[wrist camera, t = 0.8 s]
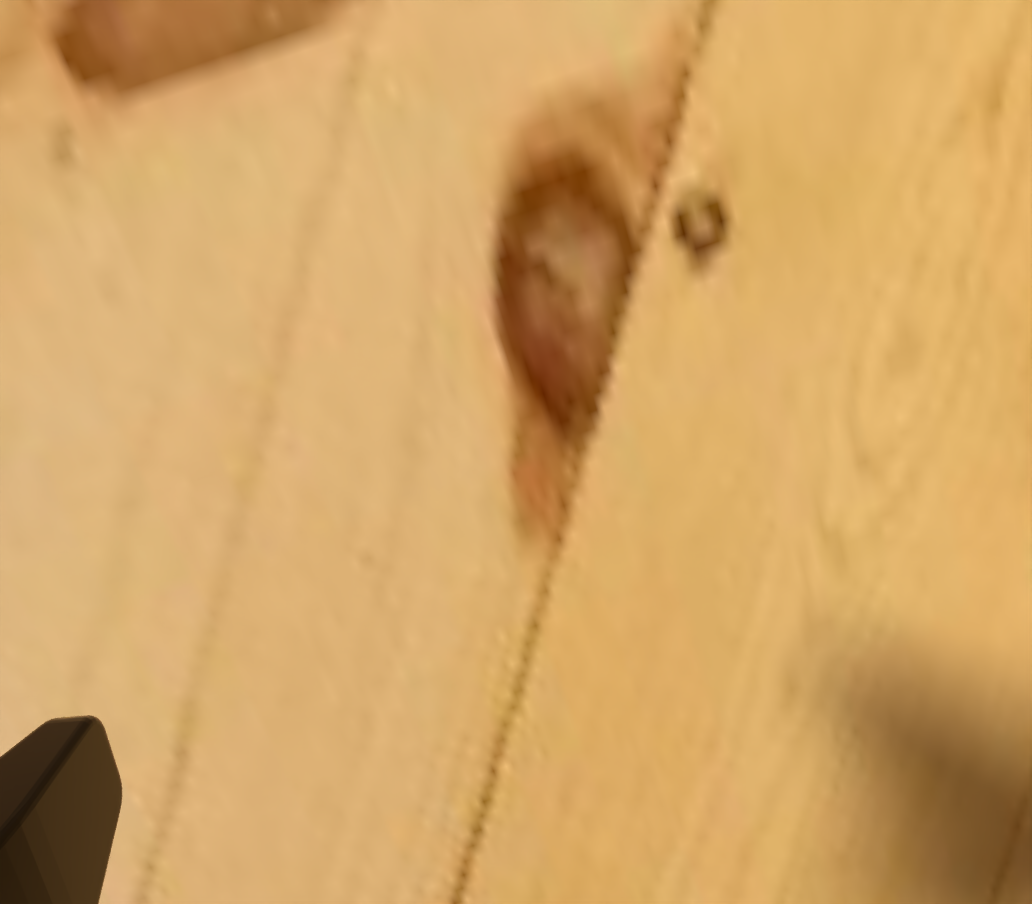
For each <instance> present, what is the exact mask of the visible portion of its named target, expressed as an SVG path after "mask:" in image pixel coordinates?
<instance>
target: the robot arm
mask: <svg viewBox="0 0 1032 904" xmlns="http://www.w3.org/2000/svg"><path fill="white" fill-rule="evenodd" d="M121 803H122V783H121V779H120V775H119V772H118V769H117V766H116V762H115V759H114V756H113V753H112V750H111V747H110V744H109V740H108V737H107V734H106V731H105V728H104V726H103V724H102V722H101V721H100V720H99V719H98V718H97V717H94V716H89V715H88V716H75V717H62V718H55V719H51V720H49V721H47V722H45V723H44V724H42V725H41V726H39V727H38V728H37V729H36V730H34V731H33V732H32V733H30V734H29V735H28V736H27V737H25V738H24V739H23V740H21V741H20V742H19V743H18V744H16V745H15V746H14V747H13V748H11V749H10V750H9V751H7V752H6V753H5V754H4V755H2V756H1V757H0V904H98V903H99V899H100V895H101V890H102V886H103V882H104V877H105V873H106V869H107V865H108V860H109V856H110V852H111V847H112V843H113V839H114V835H115V830H116V826H117V822H118V817H119V813H120V809H121Z"/></svg>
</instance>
